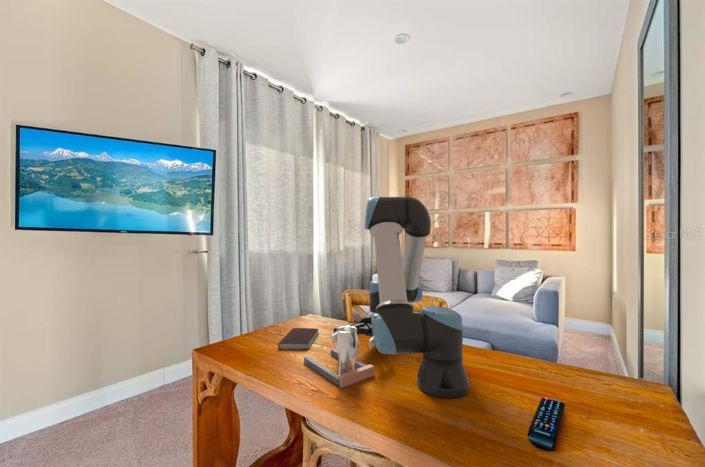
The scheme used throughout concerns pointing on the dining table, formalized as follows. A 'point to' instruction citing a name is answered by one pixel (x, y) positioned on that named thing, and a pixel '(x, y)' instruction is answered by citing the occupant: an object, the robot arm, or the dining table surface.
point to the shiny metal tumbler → (347, 348)
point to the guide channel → (346, 378)
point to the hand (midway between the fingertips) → (350, 342)
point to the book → (299, 339)
